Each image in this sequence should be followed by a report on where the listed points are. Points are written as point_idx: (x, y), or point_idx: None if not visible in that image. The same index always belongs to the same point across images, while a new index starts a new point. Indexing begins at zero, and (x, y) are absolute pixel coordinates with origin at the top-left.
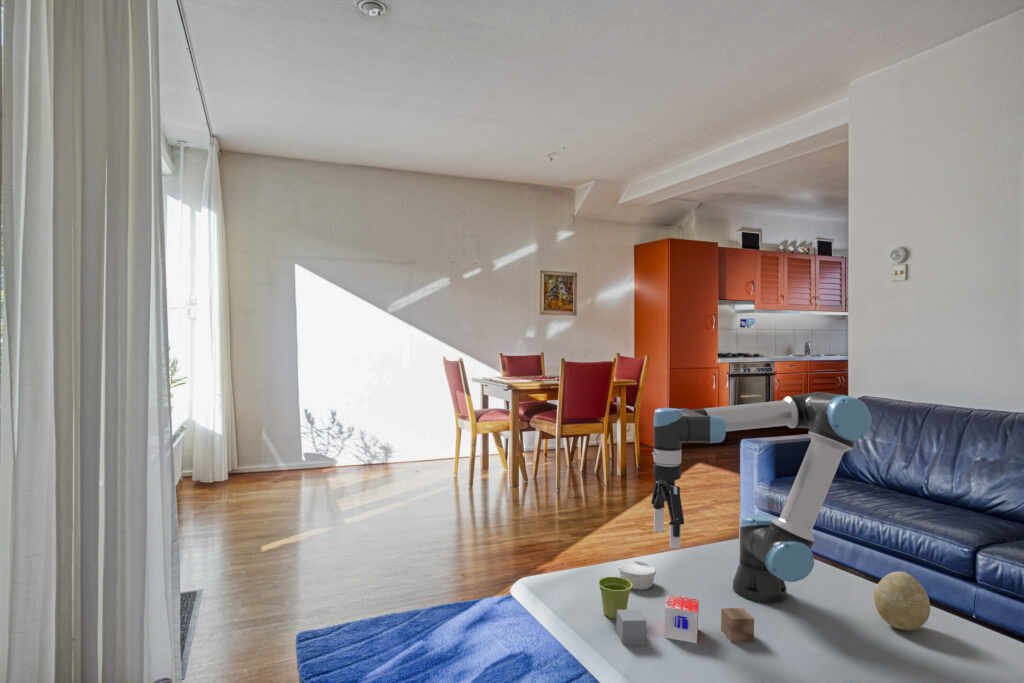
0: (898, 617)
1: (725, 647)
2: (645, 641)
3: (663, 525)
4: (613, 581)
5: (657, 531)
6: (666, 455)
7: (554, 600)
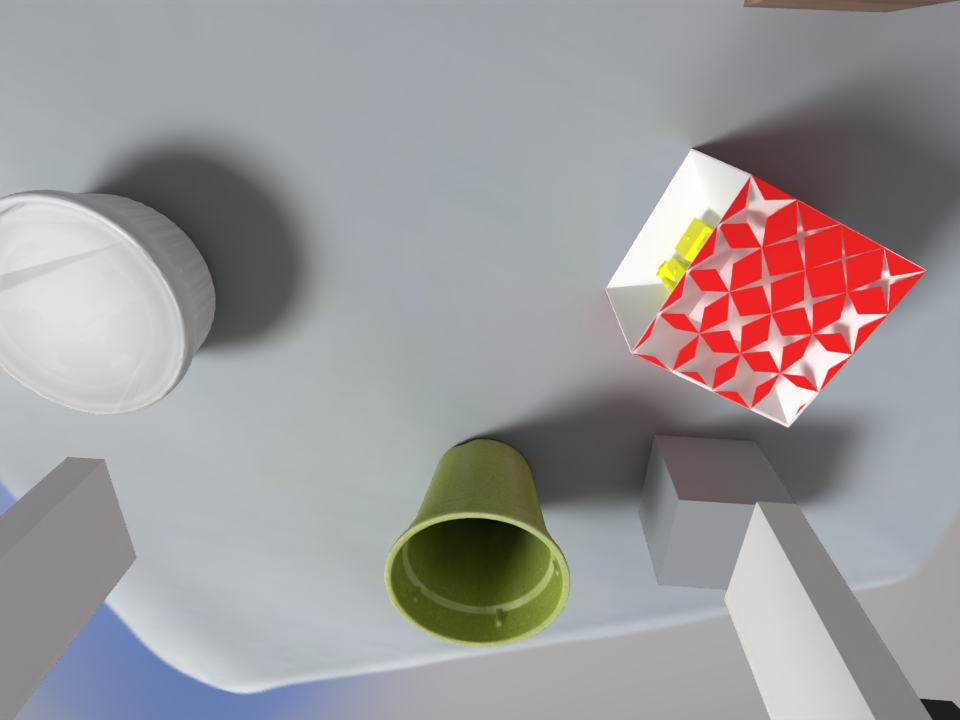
0: None
1: (921, 79)
2: (758, 447)
3: (37, 529)
4: (399, 554)
5: (122, 533)
6: None
7: (356, 632)
